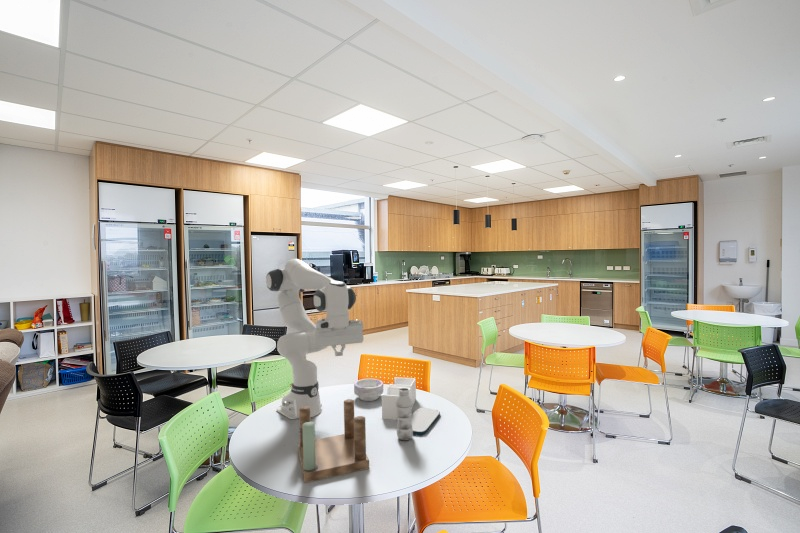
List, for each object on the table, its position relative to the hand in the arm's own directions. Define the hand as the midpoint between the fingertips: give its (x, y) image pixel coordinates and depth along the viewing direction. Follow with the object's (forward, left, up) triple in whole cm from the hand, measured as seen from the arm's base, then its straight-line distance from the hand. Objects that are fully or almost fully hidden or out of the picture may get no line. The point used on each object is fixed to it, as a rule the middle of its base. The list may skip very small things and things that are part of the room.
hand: (338, 355), depth 152 cm
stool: (+8, -13, -34) cm, 37 cm away
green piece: (+7, -23, -30) cm, 39 cm away
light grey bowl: (-18, +40, -34) cm, 56 cm away
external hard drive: (+20, +30, -35) cm, 50 cm away
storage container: (+3, +38, -34) cm, 51 cm away
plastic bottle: (+22, +14, -34) cm, 43 cm away
